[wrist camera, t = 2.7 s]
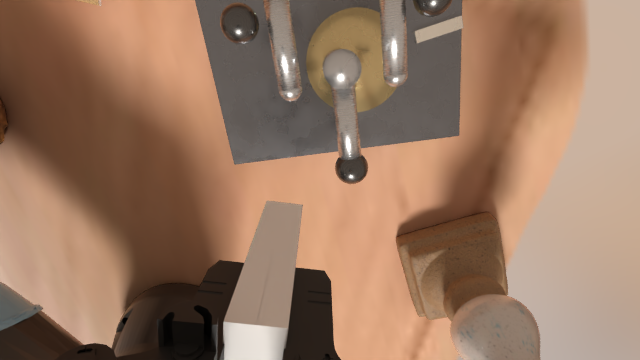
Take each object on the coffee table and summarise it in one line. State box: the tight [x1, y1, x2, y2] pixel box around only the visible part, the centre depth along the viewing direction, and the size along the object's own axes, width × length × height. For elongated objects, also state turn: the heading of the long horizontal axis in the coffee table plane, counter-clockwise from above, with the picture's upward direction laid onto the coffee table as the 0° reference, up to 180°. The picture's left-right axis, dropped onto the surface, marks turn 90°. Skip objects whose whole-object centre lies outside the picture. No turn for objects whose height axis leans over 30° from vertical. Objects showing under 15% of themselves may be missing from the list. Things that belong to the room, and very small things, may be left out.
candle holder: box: [396, 212, 540, 360], centre depth 28 cm, size 11×11×24 cm
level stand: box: [195, 0, 463, 164], centre depth 29 cm, size 22×16×4 cm
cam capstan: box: [220, 0, 452, 184], centre depth 25 cm, size 14×14×9 cm
